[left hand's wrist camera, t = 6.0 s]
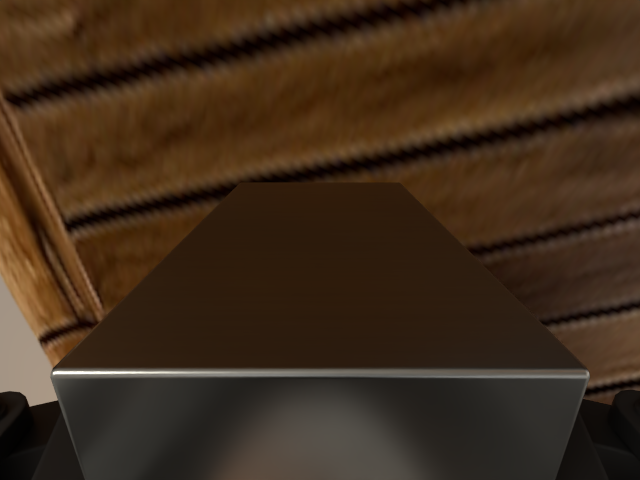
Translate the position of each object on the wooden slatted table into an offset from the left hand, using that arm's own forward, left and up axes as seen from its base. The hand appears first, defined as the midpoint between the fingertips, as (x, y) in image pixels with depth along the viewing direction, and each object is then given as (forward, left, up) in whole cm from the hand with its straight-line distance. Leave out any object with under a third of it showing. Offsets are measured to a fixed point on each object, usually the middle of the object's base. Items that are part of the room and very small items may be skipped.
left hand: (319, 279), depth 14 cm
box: (+2, +8, -1) cm, 8 cm away
